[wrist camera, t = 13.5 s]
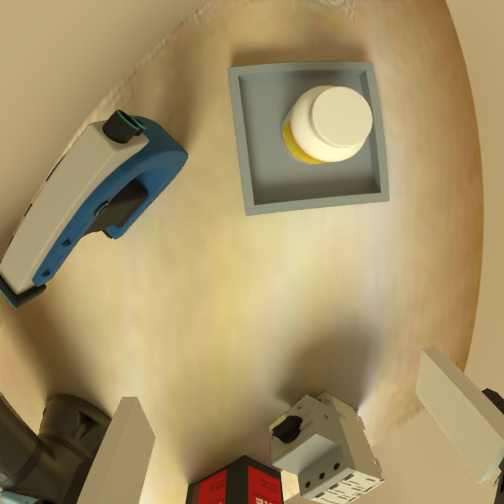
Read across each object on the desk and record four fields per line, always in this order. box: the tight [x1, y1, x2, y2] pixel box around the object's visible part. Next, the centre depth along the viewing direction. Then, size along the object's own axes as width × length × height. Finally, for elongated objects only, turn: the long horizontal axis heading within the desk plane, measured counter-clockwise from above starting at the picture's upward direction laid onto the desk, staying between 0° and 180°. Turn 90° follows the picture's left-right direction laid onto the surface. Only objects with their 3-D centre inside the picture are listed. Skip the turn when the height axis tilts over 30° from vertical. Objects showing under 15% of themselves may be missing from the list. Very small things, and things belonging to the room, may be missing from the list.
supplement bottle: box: [280, 86, 373, 164], centre depth 27 cm, size 7×7×13 cm
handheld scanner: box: [0, 110, 188, 309], centre depth 26 cm, size 5×16×20 cm, turn 133°
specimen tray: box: [227, 61, 390, 216], centre depth 32 cm, size 16×16×3 cm
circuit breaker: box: [269, 391, 385, 504], centre depth 36 cm, size 8×14×15 cm, turn 51°
